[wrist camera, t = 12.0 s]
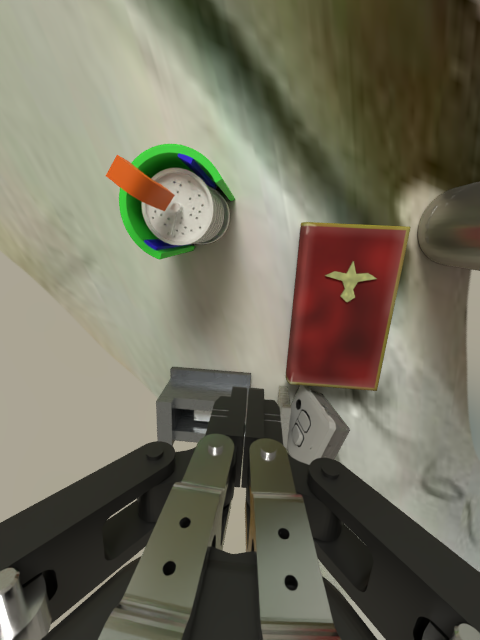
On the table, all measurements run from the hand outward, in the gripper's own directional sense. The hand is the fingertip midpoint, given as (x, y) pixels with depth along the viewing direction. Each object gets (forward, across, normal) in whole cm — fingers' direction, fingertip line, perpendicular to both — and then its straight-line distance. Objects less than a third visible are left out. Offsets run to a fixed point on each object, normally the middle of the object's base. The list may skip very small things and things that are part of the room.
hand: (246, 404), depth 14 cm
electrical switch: (+27, -9, +18) cm, 34 cm away
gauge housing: (+27, +6, +17) cm, 32 cm away
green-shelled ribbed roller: (+27, +8, -10) cm, 30 cm away
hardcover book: (+28, -11, +1) cm, 30 cm away
